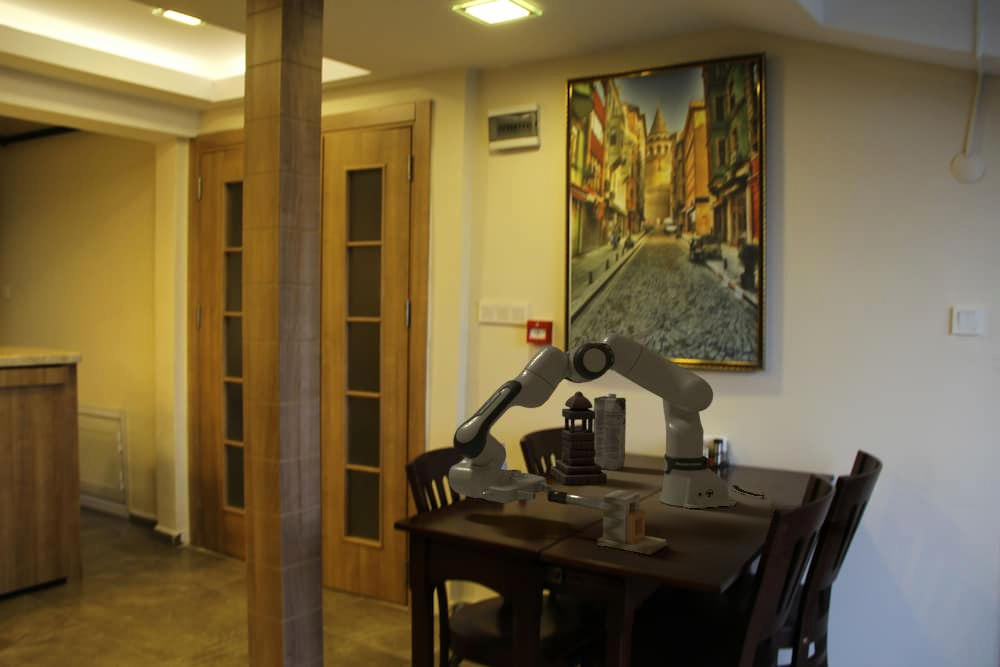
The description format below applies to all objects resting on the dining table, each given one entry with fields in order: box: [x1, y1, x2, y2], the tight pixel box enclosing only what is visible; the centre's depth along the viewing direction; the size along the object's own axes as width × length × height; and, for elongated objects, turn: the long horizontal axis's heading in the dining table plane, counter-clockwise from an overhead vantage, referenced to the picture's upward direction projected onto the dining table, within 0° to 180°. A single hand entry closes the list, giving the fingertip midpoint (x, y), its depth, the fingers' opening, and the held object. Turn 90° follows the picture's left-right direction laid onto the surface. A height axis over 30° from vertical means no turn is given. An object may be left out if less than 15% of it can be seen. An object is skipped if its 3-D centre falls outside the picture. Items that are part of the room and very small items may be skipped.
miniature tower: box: [549, 390, 608, 486], centre depth 276 cm, size 16×15×30 cm
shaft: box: [547, 490, 604, 511], centre depth 210 cm, size 18×3×3 cm, turn 56°
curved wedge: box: [732, 484, 765, 497], centre depth 259 cm, size 8×14×2 cm, turn 0°
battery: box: [593, 393, 627, 471], centre depth 296 cm, size 9×10×27 cm
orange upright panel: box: [626, 508, 646, 544], centre depth 202 cm, size 2×7×7 cm, turn 146°
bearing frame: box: [597, 489, 667, 554], centre depth 202 cm, size 14×10×12 cm
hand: (543, 493), depth 216 cm, fingers open, 8 cm apart
